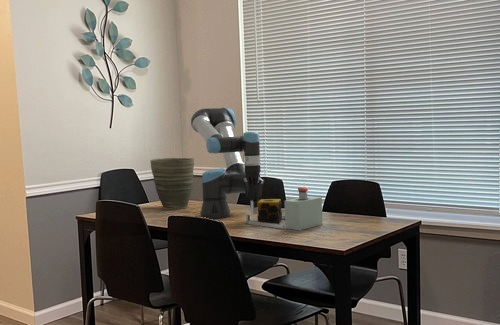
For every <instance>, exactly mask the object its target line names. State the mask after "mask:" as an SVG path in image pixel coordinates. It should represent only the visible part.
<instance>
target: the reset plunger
mask: <svg viewBox="0 0 500 325" xmlns="http://www.w3.org/2000/svg"><path fill="white" fill-rule="evenodd" d="M297 191H298V198H299V200H307V196H308V191H309V187H307V186H300V187H298V188H297Z"/></svg>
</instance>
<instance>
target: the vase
mask: <svg viewBox="0 0 500 325" xmlns="http://www.w3.org/2000/svg"><path fill="white" fill-rule="evenodd" d="M194 164H195V158H193V157H191V158H190V157H188V158H186V157H165V158H154V159H151V160H150V168H151V173H152V176H153V183H154V187H155V190H156V193H157V197H158V199H159V200H160V203H161V205H162V207H161V209H162V210H166V211H167V210H173V211H175V210H182V209H188V208H189V201H190V198H191V194H192V190H193V184H194Z"/></svg>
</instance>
